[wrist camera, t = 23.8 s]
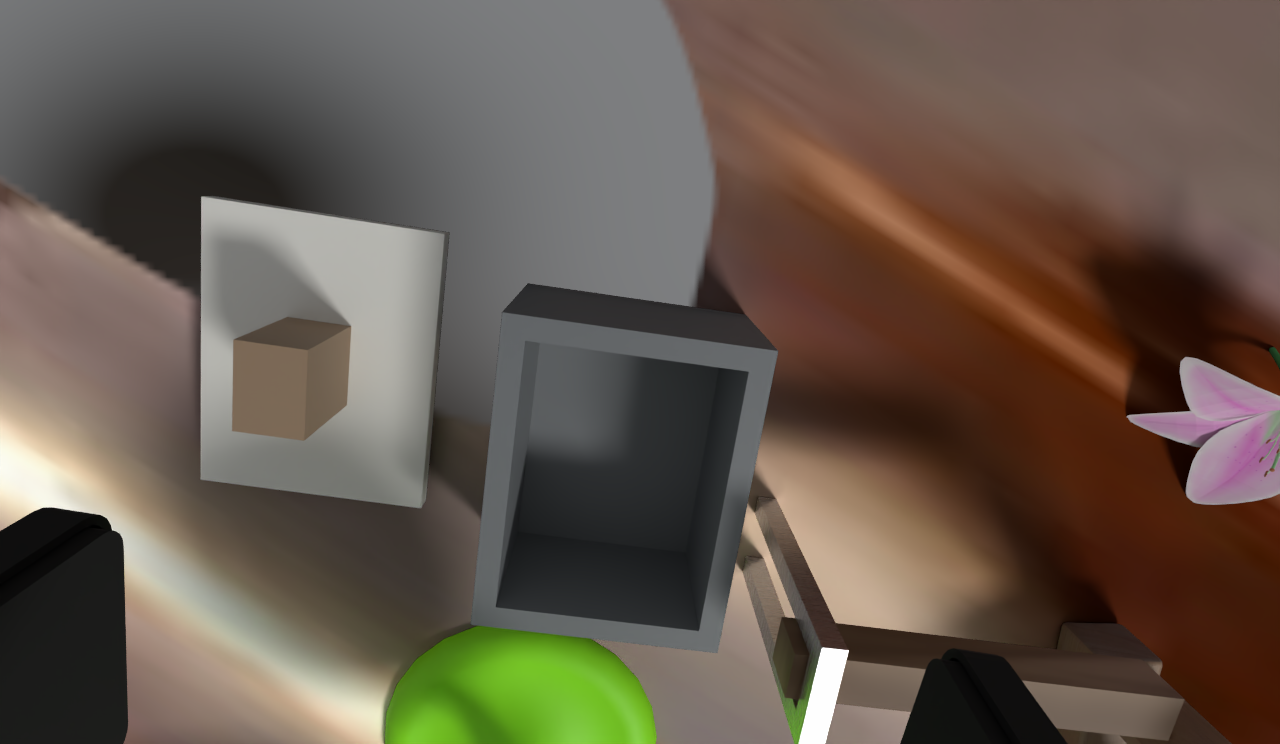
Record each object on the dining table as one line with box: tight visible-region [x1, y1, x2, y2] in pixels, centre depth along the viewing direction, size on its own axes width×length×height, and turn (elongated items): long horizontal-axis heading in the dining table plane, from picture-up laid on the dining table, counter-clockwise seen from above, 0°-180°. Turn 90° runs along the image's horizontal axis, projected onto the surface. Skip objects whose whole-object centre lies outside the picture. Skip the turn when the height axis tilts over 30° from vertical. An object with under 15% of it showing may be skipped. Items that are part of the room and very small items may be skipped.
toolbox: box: [471, 284, 848, 744], centre depth 32 cm, size 14×14×13 cm
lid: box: [201, 196, 449, 508], centre depth 34 cm, size 14×11×7 cm
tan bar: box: [772, 617, 1185, 741], centre depth 30 cm, size 2×16×2 cm, turn 82°
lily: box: [1127, 347, 1280, 505], centre depth 35 cm, size 12×12×10 cm
